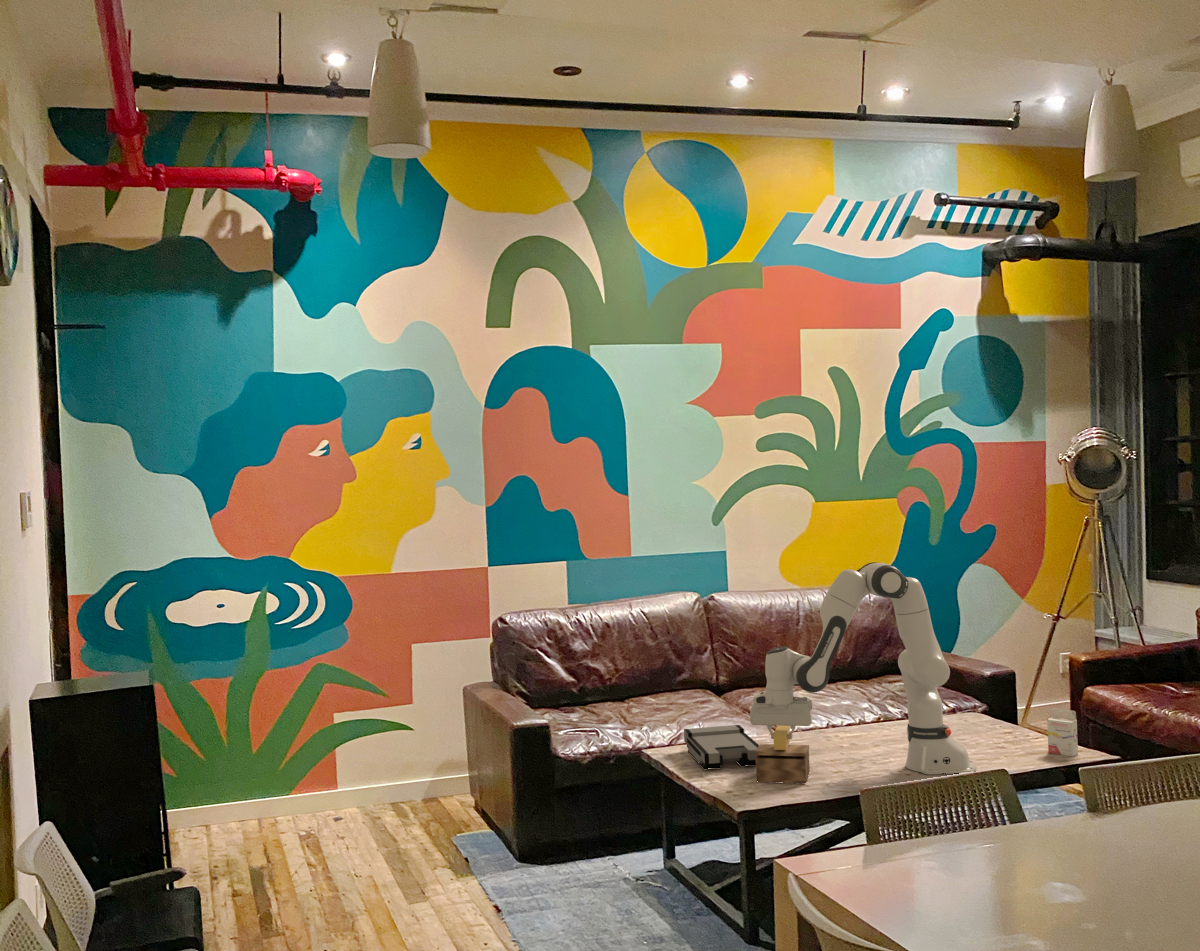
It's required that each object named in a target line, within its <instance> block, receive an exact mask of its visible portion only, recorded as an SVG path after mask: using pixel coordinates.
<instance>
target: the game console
mask: <svg viewBox="0 0 1200 951" xmlns="http://www.w3.org/2000/svg"><path fill="white" fill-rule="evenodd" d="M683 740H684V743H685V744H686V747H687V752H688V754H689V753H690V754H691V755H692V756H693V757H694V758H695V759H696V760H697V761H698V762H699V764H700V765H701V766H702V767H703V768H704V769H708V768H721V769H722V767H723V766H724V765H723V763H725V762H736V761H737V762H738V763H739V764H740V765H741V766H745V765H756V760H755V758H756V756H757V755H755V754H754V752H755V750H756V749H757V748H758V746H759V745H760V744H759V743H758V742H756V741H755V740H754V739H752V738H751V737H750V736H749V735H748V734H747V733H745V728H743V727H742V725H739V724H733V725H719V726H707V727H706V726H705V727H695V728H683ZM691 755H690V756H691ZM692 756H691V757H692ZM693 757H692V758H693ZM694 758H693V759H694ZM695 759H694V760H695ZM696 760H695V761H696ZM697 761H696V762H697ZM737 762H736V763H737ZM738 763H737V764H738ZM739 764H738V765H739ZM700 765H699V766H700ZM740 765H739V766H740ZM701 766H700V767H701ZM741 766H740V767H741ZM702 767H701V768H702ZM745 767H746V766H745ZM703 768H702V769H703ZM704 769H703V770H704Z"/></svg>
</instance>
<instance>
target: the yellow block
mask: <svg viewBox="0 0 1200 951" xmlns="http://www.w3.org/2000/svg"><path fill="white" fill-rule="evenodd" d="M773 732H774V734H773V738H774V739H773V744H774V750H787V747H788V745H790V742H791V739H788V733H790V732H791V726H778V725H776V728H775V730H774V731H773Z"/></svg>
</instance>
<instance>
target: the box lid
mask: <svg viewBox="0 0 1200 951" xmlns="http://www.w3.org/2000/svg"><path fill="white" fill-rule="evenodd" d="M758 745H759V746H758V748H757V749H756V750H755V752H754V754H755V755H771V756H806V754H807V752H808V750H809V751H810V745H809V744H808V745H807V744H789V745H788V747H787V750H774V743H773V744H772V743H771V744H767V743H760V744H758Z"/></svg>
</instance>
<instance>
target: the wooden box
mask: <svg viewBox="0 0 1200 951" xmlns="http://www.w3.org/2000/svg"><path fill="white" fill-rule="evenodd" d="M755 760H756V766H755V777H756V778H755V779H756V781H755V782H756V783H757V781H758V782H783V783H782V784H788V783H806V782H807V783H808V780H809V776H810V773H809V772H811V770H810V767H811V766H810V749H809V750H808V752H807V754H806V756H771V755H757V756H756V758H755ZM808 775H809V776H808ZM807 779H808V780H807ZM807 783H806V784H807Z"/></svg>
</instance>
